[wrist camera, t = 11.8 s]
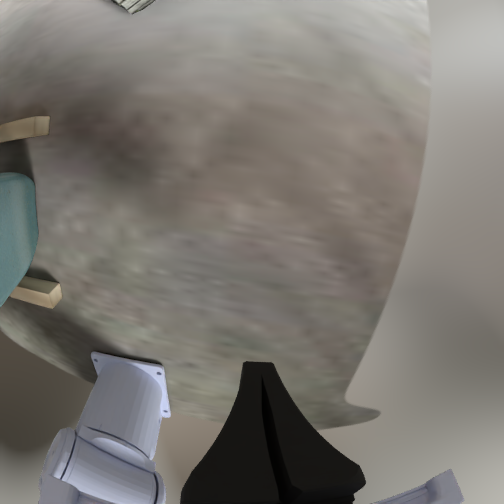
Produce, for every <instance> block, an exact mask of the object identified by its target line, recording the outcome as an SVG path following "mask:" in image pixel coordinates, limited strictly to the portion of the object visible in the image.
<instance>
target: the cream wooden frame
mask: <svg viewBox="0 0 504 504" xmlns="http://www.w3.org/2000/svg"><path fill="white" fill-rule="evenodd" d="M49 122H50V116H34V117H29V118H25V119H21V120H17V121H13V122H9V123H5V124H2V125H0V143H3V142H8V141H13V140H19V139H24V138H30V137H36V136H43V135H49ZM9 297H12V298H16V299H19V300H22V301H26V302H29V303H33V304H36V305H40V306H44V307H48V308H51V309H53V308H54V307H55V305H56V304H57V303H58V302H59V301H60V300H61V299H62V297H63V296H62V292H61V288H60V283H56V282H51V281H46V280H41V279H36V278H32V277H27V276H24V277H23V278H22V279H21V281H20V282H19V283H18V285H17V286H16V287H15V289H14V290H13V291H12V293H11V294H10V295H9Z"/></svg>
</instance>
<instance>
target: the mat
mask: <svg viewBox="0 0 504 504" xmlns="http://www.w3.org/2000/svg"><path fill="white" fill-rule="evenodd" d="M112 1H113V2H114V3H116V4H118V5H120V6H122V7H123V8H125V9H126V10H127V11H128V12H129V13H130V14H134V13H136V12H138V11H141V10H143V9H144V8H146V7H147V6H148V5H150V4H151V3H153V2H154V1H155V0H112Z"/></svg>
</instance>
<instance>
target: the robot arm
mask: <svg viewBox="0 0 504 504" xmlns="http://www.w3.org/2000/svg"><path fill="white" fill-rule="evenodd" d="M91 358H92V361H93V364H94V367H95V370H96V372H97V375H98V378H97V380H96V382H95V385H94V387H93V389H92V391H91V394H90V396H89V398H88V400H87V403H86V406H85V408H84V410H83V413H82V415H81V417H80V419H79V422H78V425H77V427H76V429H75V430H73V429H71V428H69V427H68V428H66V429H61V430H60V431H59V432H58V434H57V435H56V437H55V439H54V440H53V442H52V445H51V447H50V449H49V451H48V454H47V456H46V459H45V462H44V465H43V471H42V474H41V477H40V479H39V490H40V499H39V502H38V504H165V499H166V489H165V485H164V482H163V479H162V477H161V475H160V474H159V473H157V472H156V471H155V466H156V462H154V461H152V459H153V457H154V455H155V450H156V445H157V439H158V435H159V430H160V425H161V420H162V417H167V418H168V417H170V416H171V412H170V406H169V400H168V393H167V386H166V379H165V371H164V367H163V366H162V365H159V364H153V363H147V362H142V361H136V360H131V359H126V358H121V357H116V356H112V355H107V354H103V353H99V352H92V353H91ZM365 484H366V480H365V477H364V474H363V472H362V470H361V468H360V466H359V465H357V464H356V463H355V462H353V461H351V460H350V459H349V458H347V457H346V456H344V455H343V454H342V453H340V452H339V451H338V450H337V449H335V448H334V447H333V446H332V445H331V444H330V443H329V442H327V441H326V440H325V439H324V438H323V437H322V436H321V435H320V434H319V433H318V432H317V431H316V430H315V429H314V428H313V427H312V425H311V424H310V423H309V422H308V421H307V419H306V418H305V417H304V416H303V414H302V413H301V412H300V410H299V409H298V407H297V406H296V405H295V403H294V401H293V400H292V398H291V397H290V395H289V393H288V392H287V390H286V388H285V387H284V385H283V383H282V381H281V379H280V377H279V375H278V373H277V371H276V368H275V366H274V364H273V363H271V362H249V361H246V362H244V363H243V367H242V373H241V380H240V386H239V391H238V394H237V397H236V400H235V402H234V405H233V407H232V410H231V412H230V414H229V416H228V418H227V420H226V422H225V424H224V426H223V428H222V430H221V432H220V434H219V435H218V437H217V438H216V440H215V442H214V443H213V445H212V446H211V448H210V449H209V450H208V452H207V453H206V455H205V456H204V457H203V459H202V460H201V461H200V462H199V464H198V465H197V466H196V467H195V469H194V470H193V471H192V472H191V474H190V476H189V478H188V480H187V481H186V483H185V485H184V487H183V489H182V492H181V500H180V504H353V501H354V500H355V498H354V493H355V492H357V491H358V490H360V489H361V488H362V487H363V486H364V485H365ZM463 501H464V498H463V495H462V493H461V490H460V488H459V486H458V483H457V481H456V479H455V477H454V474H453V472H452V470H451V469H449V470H447V471H445V472H443V473H441V474H439V475H437V476H435V477H433V478H432V479H430V480H429V481H427V482H426V483H425V484H423V485H421V486H418V487H416V488H414V489H411V490H409V491H406V492H404V493H401V494H398V495H396V496H393V497H390V498H387V499H384V500H381V501H378V502H375V503H371V504H460V503H462V502H463Z"/></svg>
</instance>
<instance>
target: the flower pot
mask: <svg viewBox="0 0 504 504" xmlns="http://www.w3.org/2000/svg"><path fill="white" fill-rule="evenodd" d="M37 240H38V226H37V216H36V203H35V185H34V182H33V181H32V180H31V179H30V178H29V177H27V176H26V175H23V174H20V173H13V172H8V173H0V307H1V306H2V305H3V303H4V302H5V301H6V299H7V298H8V296H9V295H10V294H11V293H12V291H13V290H14V289H15V287H16V286H17V285H18V283H19V282H20V281H21V279H22V278H23V277H24V275H25V274H26V272H27V270H28V268H29V266H30V264H31V262H32V259H33V256H34V253H35V249H36V245H37Z"/></svg>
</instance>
